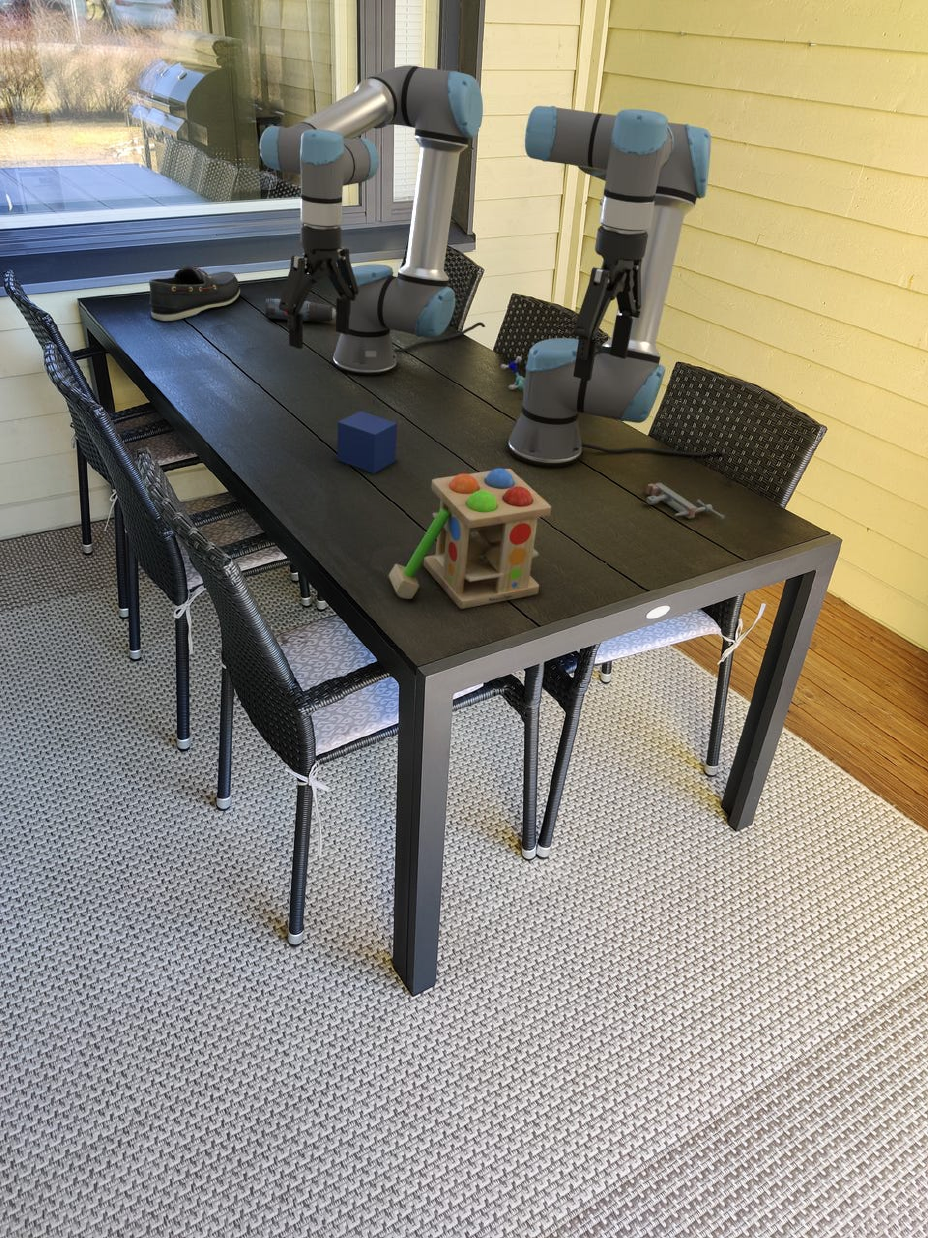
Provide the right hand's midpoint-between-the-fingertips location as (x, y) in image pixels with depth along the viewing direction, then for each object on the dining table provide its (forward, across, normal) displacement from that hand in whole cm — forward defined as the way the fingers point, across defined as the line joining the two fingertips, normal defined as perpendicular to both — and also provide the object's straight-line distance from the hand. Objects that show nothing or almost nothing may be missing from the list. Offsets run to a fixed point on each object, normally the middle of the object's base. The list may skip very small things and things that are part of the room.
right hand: (600, 367), depth 157 cm
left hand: (+12, -5, -61) cm, 62 cm away
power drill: (+32, -65, -114) cm, 135 cm away
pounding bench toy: (+32, +26, -8) cm, 42 cm away
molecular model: (+32, -56, -41) cm, 77 cm away
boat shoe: (+32, -49, -138) cm, 150 cm away
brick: (+32, -2, -46) cm, 56 cm away
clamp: (+32, -24, +11) cm, 41 cm away
